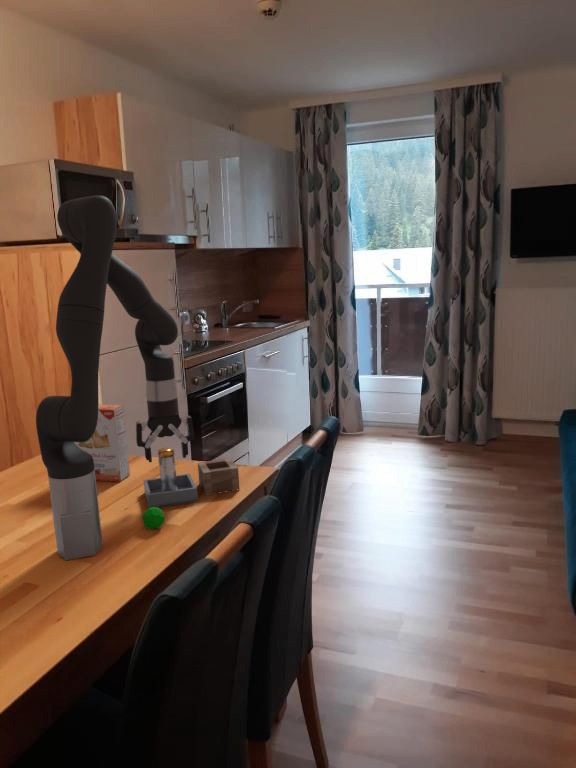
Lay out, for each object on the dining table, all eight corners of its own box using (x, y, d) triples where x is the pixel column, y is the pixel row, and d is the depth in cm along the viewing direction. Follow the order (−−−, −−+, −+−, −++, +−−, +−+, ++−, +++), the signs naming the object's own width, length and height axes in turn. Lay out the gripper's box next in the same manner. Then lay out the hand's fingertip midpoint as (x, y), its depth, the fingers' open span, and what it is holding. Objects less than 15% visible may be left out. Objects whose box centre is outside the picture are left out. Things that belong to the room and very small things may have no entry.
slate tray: (197, 501, 161) (196, 488, 160) (149, 508, 157) (147, 495, 156) (190, 485, 172) (189, 473, 171) (144, 492, 168) (143, 479, 168)
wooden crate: (239, 490, 167) (238, 468, 166) (205, 495, 165) (203, 472, 163) (232, 479, 176) (230, 458, 174) (199, 483, 173) (197, 462, 172)
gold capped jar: (179, 496, 163) (174, 450, 161) (163, 498, 162) (158, 453, 159) (176, 490, 167) (172, 446, 164) (161, 493, 166) (156, 448, 163)
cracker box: (75, 480, 180) (66, 408, 176) (86, 473, 186) (78, 403, 182) (120, 482, 177) (113, 408, 173) (130, 475, 183) (123, 403, 179)
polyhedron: (141, 526, 147) (139, 506, 146) (162, 521, 149) (161, 502, 148) (145, 534, 143) (143, 514, 142) (167, 530, 144) (165, 510, 144)
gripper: (133, 402, 154) (139, 467, 157) (193, 396, 158) (197, 459, 161) (131, 396, 161) (137, 458, 164) (188, 390, 165) (193, 451, 168)
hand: (167, 459), depth 163 cm, fingers open, 8 cm apart
